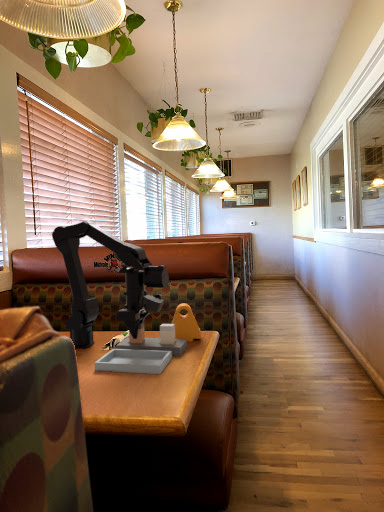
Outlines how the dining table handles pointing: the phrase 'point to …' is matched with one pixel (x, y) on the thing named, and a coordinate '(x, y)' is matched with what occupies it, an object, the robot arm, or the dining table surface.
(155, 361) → the parts tray
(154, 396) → the dining table surface
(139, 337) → the block
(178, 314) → the bracket
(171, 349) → the block
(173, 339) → the block
